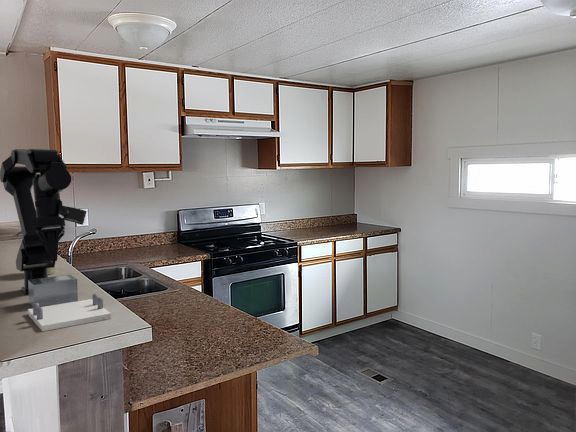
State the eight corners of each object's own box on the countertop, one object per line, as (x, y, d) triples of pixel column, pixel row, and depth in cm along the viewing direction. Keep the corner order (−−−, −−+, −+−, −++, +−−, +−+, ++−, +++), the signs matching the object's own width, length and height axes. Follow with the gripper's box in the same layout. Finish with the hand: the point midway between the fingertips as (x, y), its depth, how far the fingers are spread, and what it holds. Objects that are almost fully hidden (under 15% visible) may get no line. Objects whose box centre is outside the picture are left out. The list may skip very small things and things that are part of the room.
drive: (29, 303, 119) (28, 279, 119) (71, 296, 126) (70, 274, 125) (34, 309, 115) (33, 284, 114) (77, 302, 121) (77, 278, 120)
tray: (27, 314, 110) (27, 298, 110) (91, 303, 119) (91, 289, 119) (42, 331, 100) (41, 314, 99) (111, 318, 109) (110, 302, 108)
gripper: (83, 188, 114) (91, 252, 112) (80, 201, 130) (87, 257, 129) (31, 192, 109) (39, 259, 107) (35, 205, 125) (42, 264, 124)
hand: (54, 260), depth 117 cm, fingers open, 9 cm apart
